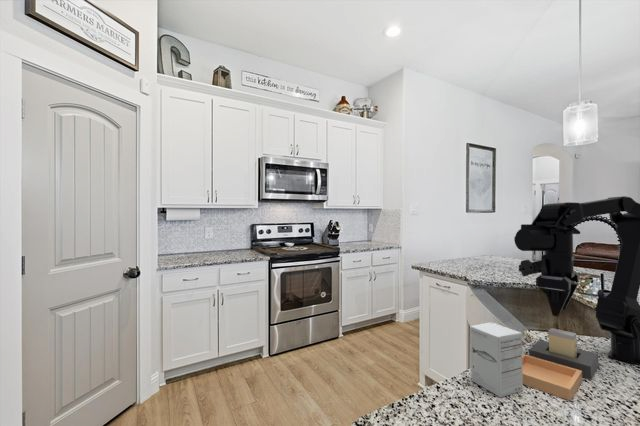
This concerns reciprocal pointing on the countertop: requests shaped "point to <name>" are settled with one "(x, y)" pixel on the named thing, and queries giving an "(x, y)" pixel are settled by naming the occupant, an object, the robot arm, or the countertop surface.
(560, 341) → the block
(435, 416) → the countertop surface
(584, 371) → the gray rectangular frame
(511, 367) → the supplement box
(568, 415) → the countertop surface
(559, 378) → the parts tray
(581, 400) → the countertop surface
